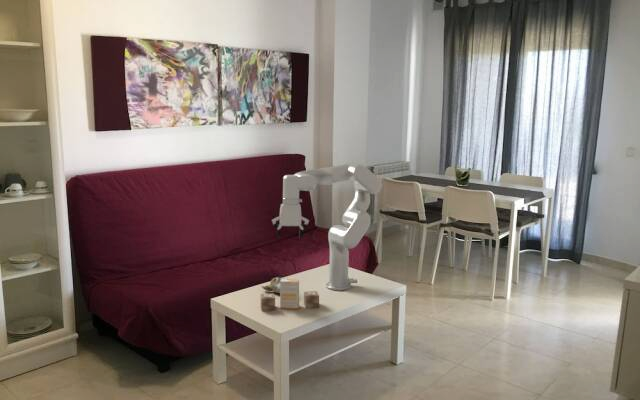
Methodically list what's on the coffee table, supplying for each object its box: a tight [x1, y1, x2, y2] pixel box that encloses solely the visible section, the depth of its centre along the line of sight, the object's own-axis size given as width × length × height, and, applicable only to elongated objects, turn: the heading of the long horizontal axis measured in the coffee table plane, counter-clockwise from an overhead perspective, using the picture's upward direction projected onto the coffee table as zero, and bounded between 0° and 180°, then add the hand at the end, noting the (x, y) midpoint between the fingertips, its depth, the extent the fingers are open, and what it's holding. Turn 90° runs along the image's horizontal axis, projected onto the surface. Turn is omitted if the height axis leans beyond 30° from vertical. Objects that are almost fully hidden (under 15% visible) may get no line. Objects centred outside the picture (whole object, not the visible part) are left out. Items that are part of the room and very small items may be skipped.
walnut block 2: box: [303, 290, 320, 309], centre depth 249 cm, size 6×6×6 cm
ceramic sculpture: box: [261, 275, 283, 294], centre depth 266 cm, size 11×9×15 cm
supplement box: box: [279, 277, 300, 310], centre depth 247 cm, size 8×5×13 cm, turn 84°
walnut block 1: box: [260, 292, 276, 312], centre depth 245 cm, size 6×6×6 cm
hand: (290, 237), depth 255 cm, fingers open, 9 cm apart
